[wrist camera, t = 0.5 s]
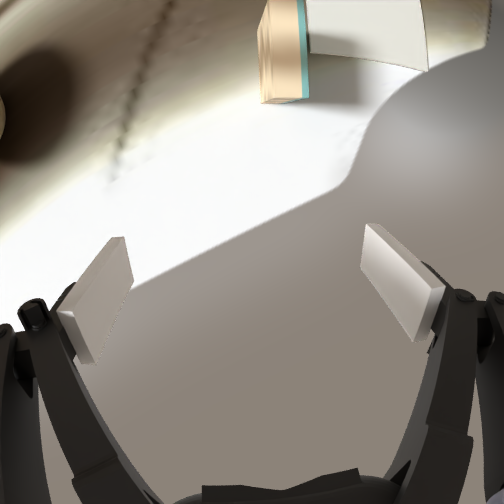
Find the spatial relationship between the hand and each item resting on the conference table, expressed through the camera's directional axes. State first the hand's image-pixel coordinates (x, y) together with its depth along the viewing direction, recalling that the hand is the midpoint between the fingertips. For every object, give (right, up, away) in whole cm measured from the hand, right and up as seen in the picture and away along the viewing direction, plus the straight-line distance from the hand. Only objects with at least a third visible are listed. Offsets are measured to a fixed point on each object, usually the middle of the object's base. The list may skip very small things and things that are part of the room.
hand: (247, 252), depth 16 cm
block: (+3, +23, +16) cm, 28 cm away
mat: (+16, +33, +12) cm, 38 cm away
